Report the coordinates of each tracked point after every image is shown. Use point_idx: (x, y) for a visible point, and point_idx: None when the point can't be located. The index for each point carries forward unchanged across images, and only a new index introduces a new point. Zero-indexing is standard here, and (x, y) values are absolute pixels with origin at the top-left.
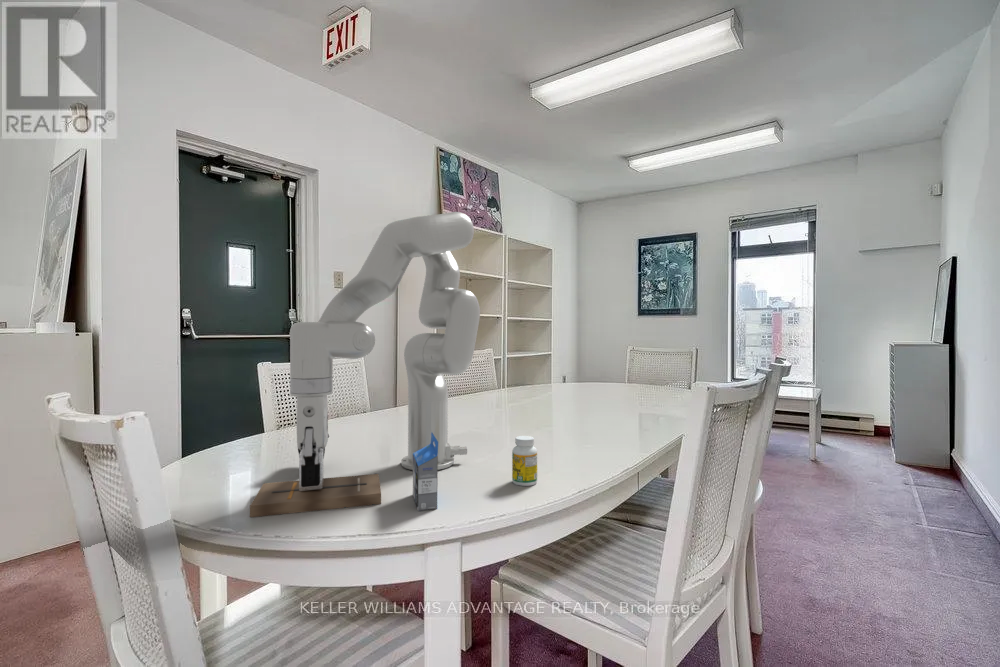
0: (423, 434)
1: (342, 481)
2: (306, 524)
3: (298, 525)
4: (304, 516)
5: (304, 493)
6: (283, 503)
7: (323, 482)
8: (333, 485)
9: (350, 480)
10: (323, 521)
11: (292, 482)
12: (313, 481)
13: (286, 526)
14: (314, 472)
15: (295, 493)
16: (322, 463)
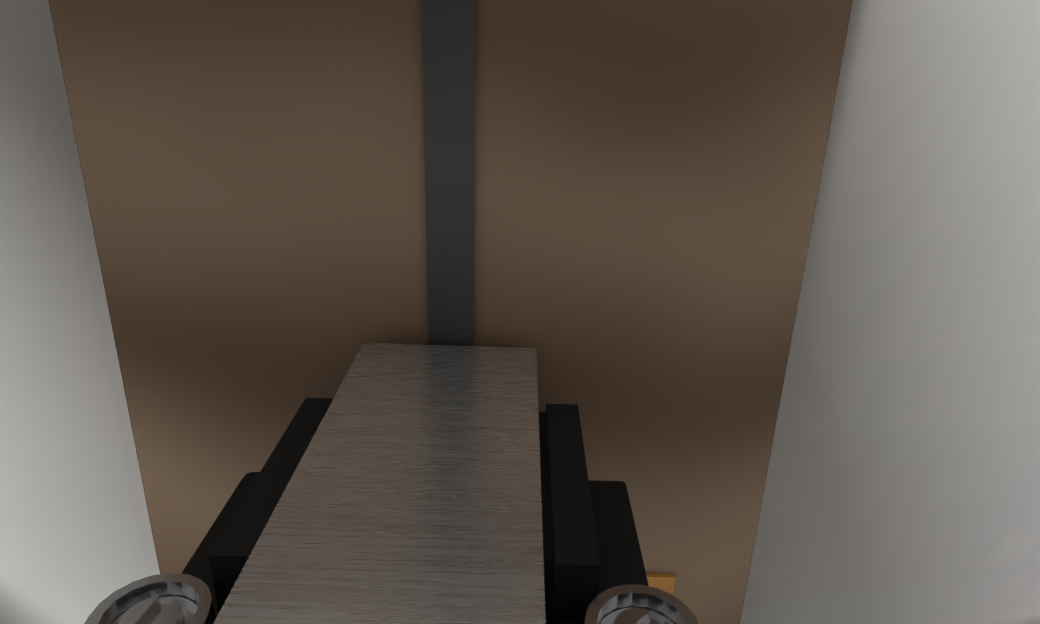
0: None
1: (268, 131)
2: (1010, 390)
3: (997, 440)
4: (835, 413)
5: None
6: (739, 608)
7: (262, 338)
8: (399, 233)
9: (241, 27)
10: (1022, 272)
11: None
12: (626, 487)
13: (969, 509)
14: (638, 551)
15: None
16: (479, 516)
